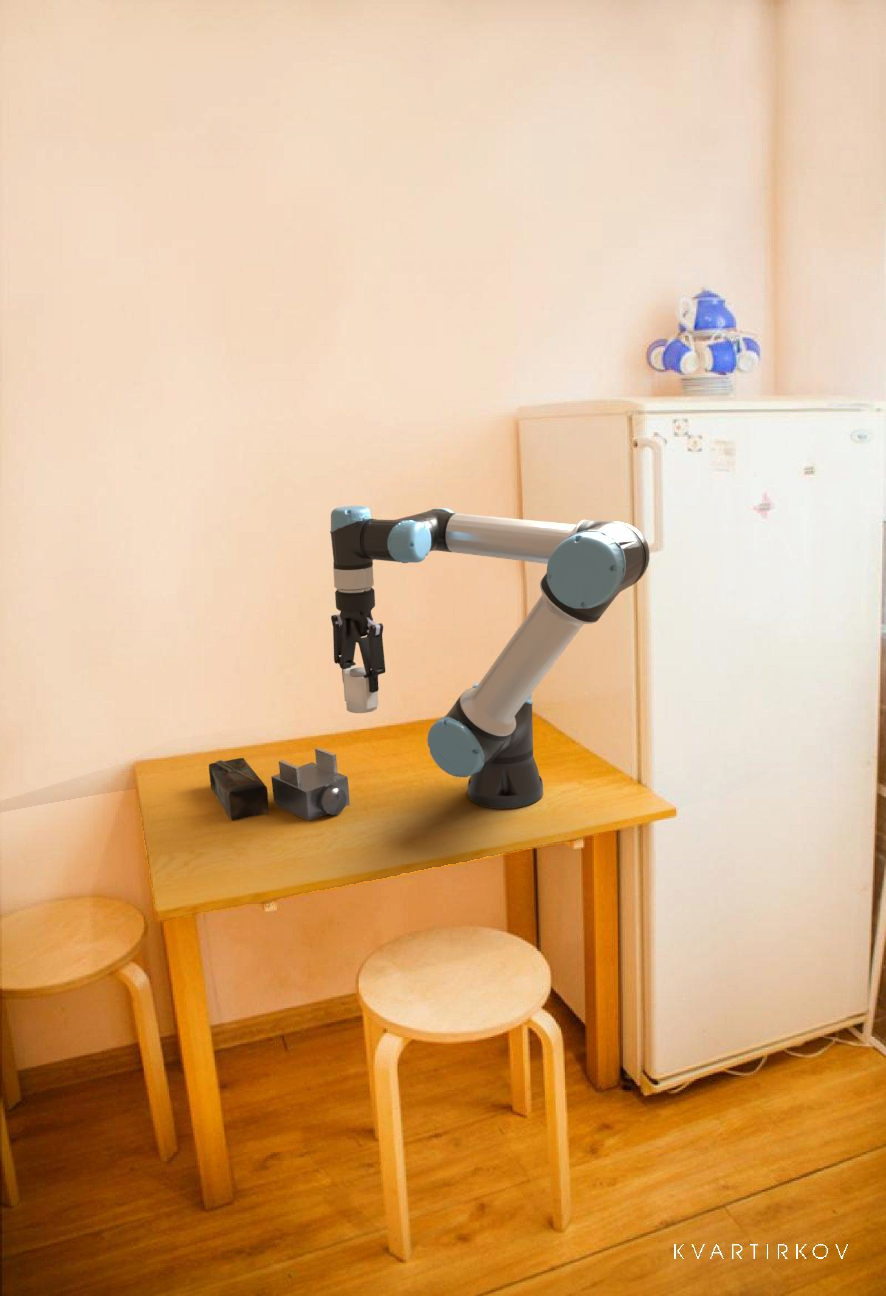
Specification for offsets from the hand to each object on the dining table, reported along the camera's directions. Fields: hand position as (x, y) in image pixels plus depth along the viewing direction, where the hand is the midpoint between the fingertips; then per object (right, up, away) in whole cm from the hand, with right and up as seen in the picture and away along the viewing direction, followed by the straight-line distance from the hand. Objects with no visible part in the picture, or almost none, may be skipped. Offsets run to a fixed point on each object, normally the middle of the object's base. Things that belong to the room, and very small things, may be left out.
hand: (361, 703), depth 194 cm
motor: (-9, -21, +3) cm, 23 cm away
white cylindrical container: (0, -1, 0) cm, 1 cm away
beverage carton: (-26, -21, +8) cm, 34 cm away
